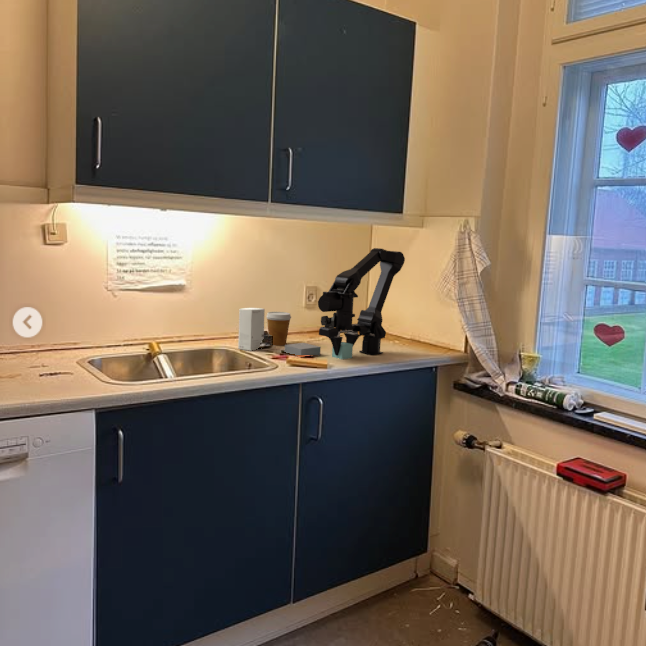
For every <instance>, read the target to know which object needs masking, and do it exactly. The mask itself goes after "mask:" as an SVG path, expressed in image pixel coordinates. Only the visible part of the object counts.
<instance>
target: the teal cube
mask: <svg viewBox="0 0 646 646" xmlns="http://www.w3.org/2000/svg"><path fill="white" fill-rule="evenodd" d="M353 348H354V346H353V344H350V343H346V341H342V342H341V346H340V351H339V354H338V355H335V352H334V349H333V346H332V348H331V349H332V350H331V351H332V352H331V357H332V358H335V359H338V358H339V359H338V360H346V359H353Z"/></svg>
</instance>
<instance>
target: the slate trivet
mask: <svg viewBox="0 0 646 646" xmlns="http://www.w3.org/2000/svg"><path fill="white" fill-rule="evenodd" d="M283 352H286V353H290V354H295V355H318V356H321V346H319V345H315V344H310V343H306V342H299V343H298V342H297V343H290V344H286V345H284V351H283Z"/></svg>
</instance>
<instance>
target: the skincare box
mask: <svg viewBox="0 0 646 646" xmlns="http://www.w3.org/2000/svg"><path fill="white" fill-rule="evenodd" d="M238 311H239V312H238V313H239V314H238V344H237V345H238V348H237V349H239V350H243V351H247V350H249V352H253V351H256V349H257V350H259V349H258V348H259V347H260V343H261V341H262V340H263V339H264V338H265V313H266V312H265V308H261V307H243V308H239V309H238ZM264 340H265V339H264ZM252 350H253V351H252Z"/></svg>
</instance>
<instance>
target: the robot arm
mask: <svg viewBox="0 0 646 646" xmlns="http://www.w3.org/2000/svg"><path fill="white" fill-rule="evenodd" d="M405 260H406V258H405V255H404V253H403V252H402V251H397V250H395V251H394V250H387V249H384V248H376V247H375V248H371V250H370V251H369V253H367V255H365V256H364V257H362V259H361V260H359V261H358V262H357V263H356V264H355V265H354V266H353V267H351V268H349V269H347V270H344V271H341V272H340V273H338V274H337V275H336V276H335V278H334V281H333V283H332V285H331V286H330V288H329V290H328V291H322V295H320V297H319V299H318V301H317V306H318V309H319V310H320V312H321V313H322V312H323V313H327V312H333V314H332V316H331V317H329V316H328V315H322V316H321V317H320V325H321V327H319V329H318V335H319V336H323V337H326V338H328V339H329V340H330V342H331V345H332V347H333V349H334V352H335V355H338V354H339V351H340V346H341V342H343V336H341V334H344V336H345V342H346V343H350V344H353V347H354V345H355V344H356V342H357V341H358V339H359V338H360V337H361V336H362V343H361V345H362V346H361V350H359V353H361V354H366V355H369V356H374V355H381V354H384V351H381V343H382V340H383V339H385V338H386V335H387V331H386V329H385V328H384V327H383V326H382V325H383V315H382V311H383V309H384V305H385V302H386V299H387V298H388V297H387V296H388V294H389V292H390V291H389V290H390V288H391V285H392V283H393V280H394V277H395V276H396V275H397V274H398V273H400V272H401V269H402V268H403V267H404V263H405ZM377 264H379V266H380V267H379V268H380V274H379V276H378V277H379V278H378V280H377V282H376V285H375V289H374V291H373V292H372V293H373V294H372V296H371V299H370V302H369V304H368V307H367V308H366V309H365V310H364V309H361V310H360V311H359V315H358V318H357V323H353V318H356V314H355V313H353V311H354V299H355V298H358V297H359V295H358V294H357V293H356V292H355V291H356V290H357V288H359V286H360V284H361V282H362V279H363V277H364V276H366V275H367V274H368V273H369V272H370V271H372V269H373V268H374V267H376V266H377Z"/></svg>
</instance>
